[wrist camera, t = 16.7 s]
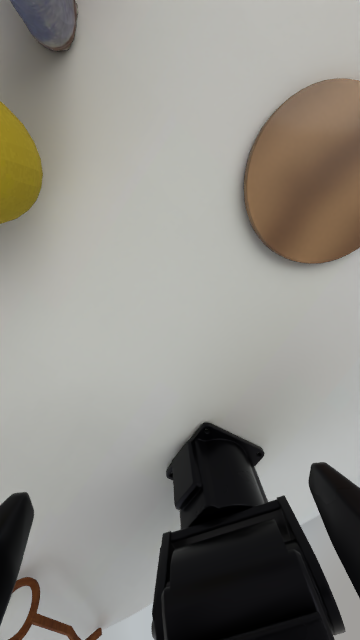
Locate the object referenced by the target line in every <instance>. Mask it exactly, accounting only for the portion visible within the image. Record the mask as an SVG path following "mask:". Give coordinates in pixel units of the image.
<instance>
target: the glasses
mask: <svg viewBox="0 0 360 640" xmlns="http://www.w3.org/2000/svg"><path fill="white" fill-rule="evenodd" d="M22 586H30V587H31V590H32V603H31V608H30V611H29V614H28V617H27V619H26V621H25V623H24V624H23V626H22V628H21V629H20V630H19V631H18V633H17V634H15V635H14V636H13V637H12V638H10V639H9V640H22V639H23V637H24V636H25V635H26V634H27V632H28V630H29V629H30V627H31V625H32V624H33V625H36V626H39V627H42V628H45V629H48V630H51V631H54V632H57V633H60V634H63V635H67V636H68V638H69V639H70V640H81V639H80V638H79V637H78V636H77V634H76V633H75V631H74V630H73V628H72V626H69V625H67V624H64V623H61V622H58V621H56V620H53V619H50V618H48V617H45V616H42V615H40V614H37V609H38V605H39V600H40V587H39V584H38V582H37V581H36V580H35V579H33V578H30V577H25V578H22V579H19V580H17V581H16V583H15V586H14V589H13V592H14V591H15V590H17V589H18V588H20V587H22ZM13 592H12V593H13ZM101 635H102V631H101V628H98V629H97V630H96V631H95V632H94V633H92V634H91V635H90V636H89V637H88V638H87V639H86V640H96V639H98V638H99V636H101Z"/></svg>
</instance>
